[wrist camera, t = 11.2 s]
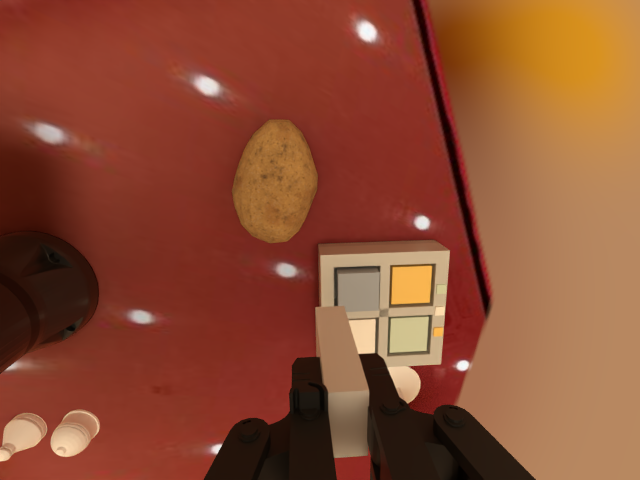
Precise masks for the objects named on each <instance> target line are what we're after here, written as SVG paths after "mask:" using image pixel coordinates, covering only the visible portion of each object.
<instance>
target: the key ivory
mask: <svg viewBox="0 0 640 480" xmlns="http://www.w3.org/2000/svg"><path fill="white" fill-rule="evenodd" d="M348 320H349V324H350V327H351V331H352V334H353V337H354V341H355V344H356V347H357V351H358V354H366V353H375V324H376V319H375V317H374V318H353V319H348Z"/></svg>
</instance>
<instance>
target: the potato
mask: <svg viewBox="0 0 640 480" xmlns="http://www.w3.org/2000/svg"><path fill="white" fill-rule="evenodd" d="M317 181H318V174H317V171H316V168H315V164H314V161H313V158H312V155H311V152H310V148H309V146H308V144H307V142H306V140H305V138H304V136H303V134H302V132H301V131H300V130H299V129H298V128H297V127H296V126H295V125H294V124H293V123H292V122H291V121H290V120H268V121H267V122H266V123H265V124H264V125H263V126H262V127H260V128H259V129H258V130H257V131H256V132H255V133H254V134H253V135H252V137H251V138H250V140H249V142H248V144H247V145H246V147H245V149H244V151H243V154H242V157H241V159H240V162H239V165H238V168H237V171H236V175H235V178H234V183H233V189H232V196H233V201H234V206H235V209H236V212H237V214H238V217H239V219H240V222H241V225H242V226H243V227H244V228H245V229H246V230H247V231H248V232H249V233H250V234H251V235H252V236H253V237H256V238H258V239H260V240H263V241H265V242H267V243H277V242H286V241H288V240H289V239H291V238H292V237H293V236H294V235H295V234H296V233H297V232H298V231H299V230H300V228H301V226H302V224H303V222H304V221H305V219H306V217H307V214H308V211H309V209H310V206H311V204H312V201H313V198H314V196H315V193H316V191H317Z"/></svg>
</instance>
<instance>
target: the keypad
mask: <svg viewBox="0 0 640 480" xmlns="http://www.w3.org/2000/svg"><path fill="white" fill-rule="evenodd" d="M449 256H450V250H448V249H447V248H445V247H444V246H442V245H441V244H440V243H438V242H437V241H435V240H413V241H384V242H356V243H327V244H318V273H319V307H331V306H337V305H336V267H356V266H376V267H377V269H378V271H379V272H380V281H379V311H358V312H346V314H347V317H348V319H353V318H374V317H375V319H376V324H375V353H377V354H378V355H380V356H381V357H382V358H383V359H384V360H385V363H386V365H387V367H399V366H417V365H435V364H441V356H442V343H443V331H444V318H445V306H446V293H447V281H448V268H449ZM407 264H431V265H432V276H431V291H430V303H410V304H391V303H390V301H389V287H390V265H407ZM417 315H428V316H429V321H428V336H427V351H413V352H394V353H390V352H389V350H388V348H387V344H388V317H396V316H417Z"/></svg>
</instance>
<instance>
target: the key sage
mask: <svg viewBox="0 0 640 480" xmlns="http://www.w3.org/2000/svg"><path fill="white" fill-rule="evenodd" d="M428 321H429V316H428V315H417V316H396V317H388V344H387V348H388V350H389V352H390V353H394V352H413V351H427V336H428Z"/></svg>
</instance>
